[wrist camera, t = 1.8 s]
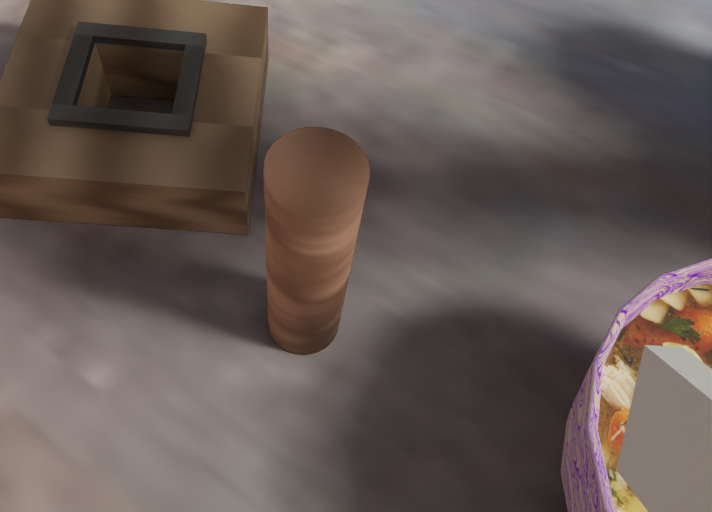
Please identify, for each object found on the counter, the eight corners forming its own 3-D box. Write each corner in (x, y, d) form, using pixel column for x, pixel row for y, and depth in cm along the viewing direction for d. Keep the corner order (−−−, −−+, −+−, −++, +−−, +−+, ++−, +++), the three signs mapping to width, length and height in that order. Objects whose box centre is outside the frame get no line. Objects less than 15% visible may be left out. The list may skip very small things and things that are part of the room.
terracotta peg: (339, 292, 42) (370, 131, 28) (337, 356, 40) (369, 217, 26) (270, 287, 42) (268, 122, 28) (265, 352, 40) (258, 209, 26)
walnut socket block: (268, 59, 51) (267, 0, 46) (248, 234, 44) (244, 186, 39) (57, 39, 50) (33, -23, 45) (-3, 217, 42) (-39, 164, 37)
